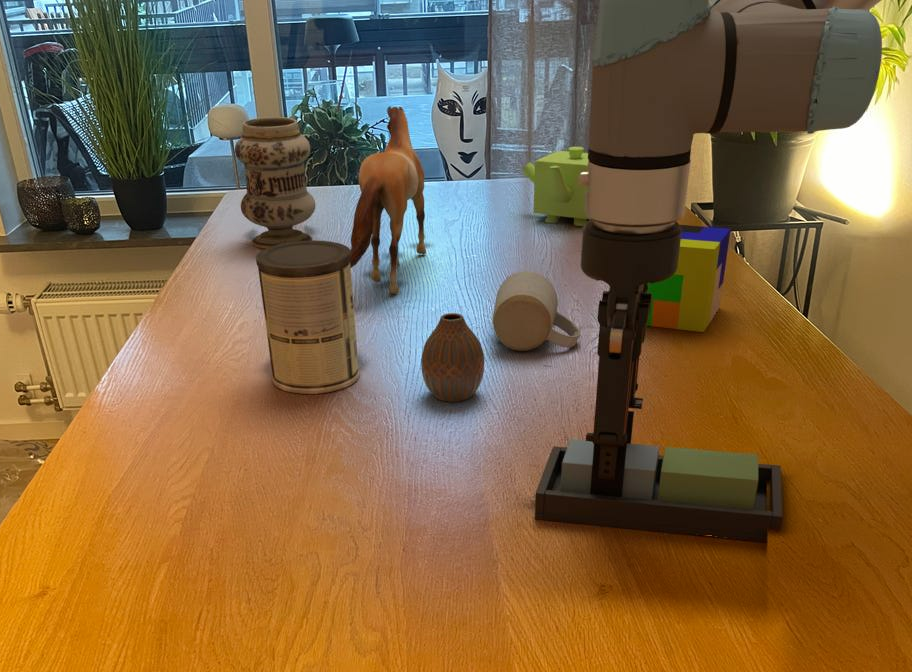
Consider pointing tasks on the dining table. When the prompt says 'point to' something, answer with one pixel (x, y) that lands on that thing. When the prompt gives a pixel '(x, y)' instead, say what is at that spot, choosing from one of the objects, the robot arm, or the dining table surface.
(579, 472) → the grey block
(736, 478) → the green rectangular block
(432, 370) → the vase
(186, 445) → the dining table surface
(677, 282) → the puzzle toy
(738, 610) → the dining table surface
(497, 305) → the ceramic mug
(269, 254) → the coffee can
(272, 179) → the apothecary jar
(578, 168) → the kettle
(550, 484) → the black rectangular tray
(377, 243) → the horse figurine
